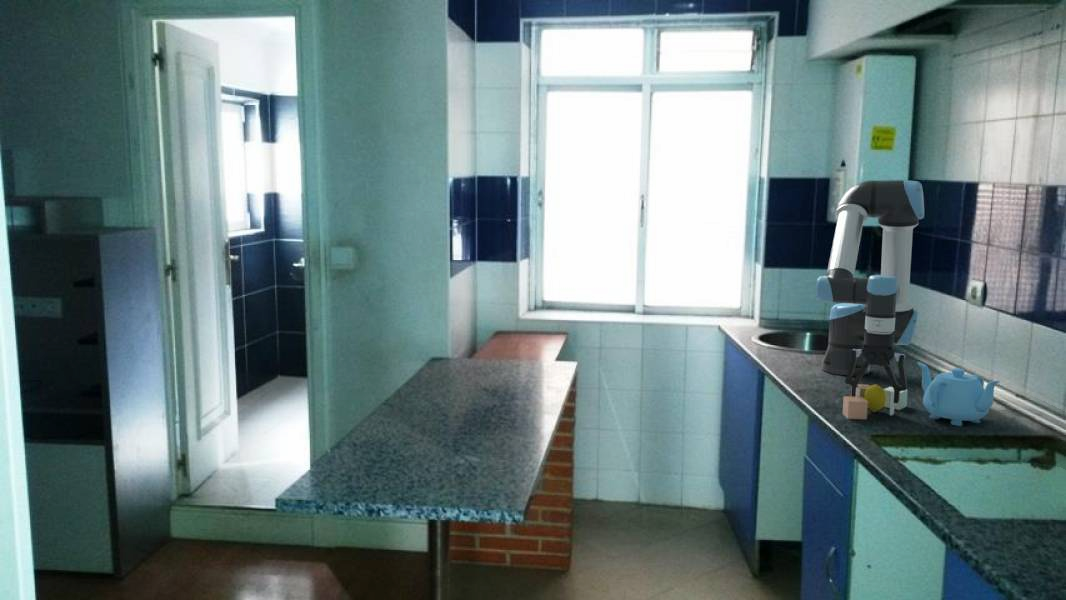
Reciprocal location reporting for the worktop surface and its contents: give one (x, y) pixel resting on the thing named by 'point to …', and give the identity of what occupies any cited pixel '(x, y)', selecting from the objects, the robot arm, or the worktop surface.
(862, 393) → the walnut cube
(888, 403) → the sage cube
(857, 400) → the terracotta cube
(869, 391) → the lemon
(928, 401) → the teapot
